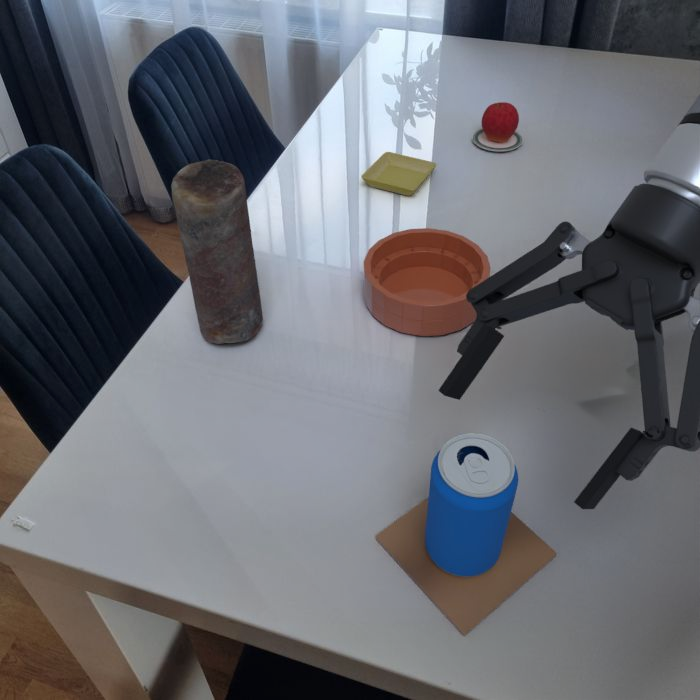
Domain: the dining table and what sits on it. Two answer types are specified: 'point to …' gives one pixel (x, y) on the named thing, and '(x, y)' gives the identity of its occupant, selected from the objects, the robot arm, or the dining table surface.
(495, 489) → the beverage can
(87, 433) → the dining table surface
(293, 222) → the dining table surface
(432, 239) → the bowl
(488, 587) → the cork mat
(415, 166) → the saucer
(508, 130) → the apple
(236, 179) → the stone cylinder
